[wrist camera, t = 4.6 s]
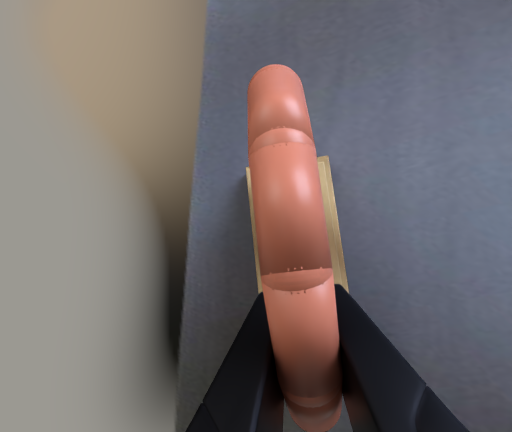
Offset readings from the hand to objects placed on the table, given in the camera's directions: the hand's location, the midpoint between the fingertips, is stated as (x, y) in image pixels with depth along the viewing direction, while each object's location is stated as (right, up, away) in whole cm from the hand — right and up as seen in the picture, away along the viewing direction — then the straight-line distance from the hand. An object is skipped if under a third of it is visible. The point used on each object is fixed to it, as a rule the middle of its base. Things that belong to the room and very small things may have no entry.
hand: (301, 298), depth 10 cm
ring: (+1, 0, +7) cm, 7 cm away
